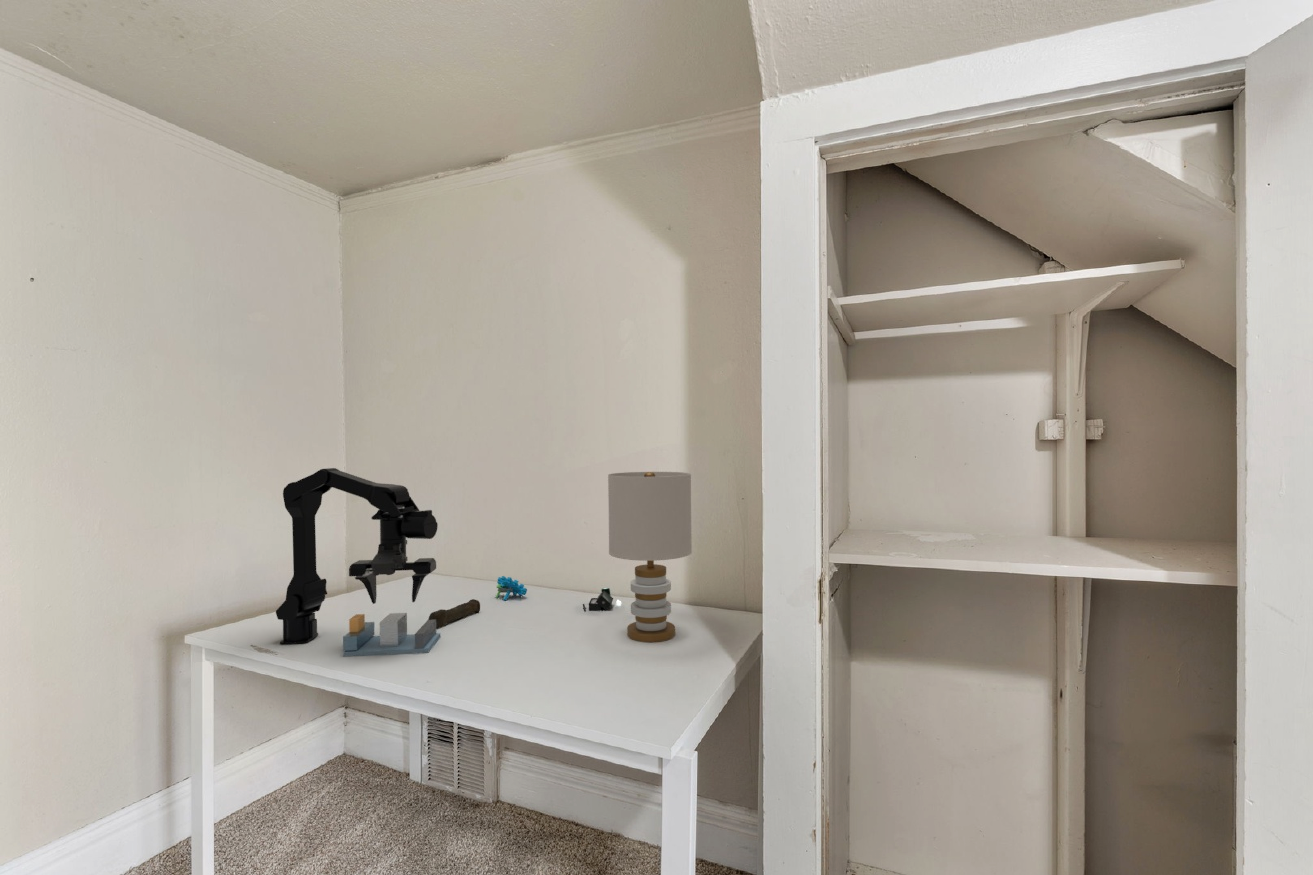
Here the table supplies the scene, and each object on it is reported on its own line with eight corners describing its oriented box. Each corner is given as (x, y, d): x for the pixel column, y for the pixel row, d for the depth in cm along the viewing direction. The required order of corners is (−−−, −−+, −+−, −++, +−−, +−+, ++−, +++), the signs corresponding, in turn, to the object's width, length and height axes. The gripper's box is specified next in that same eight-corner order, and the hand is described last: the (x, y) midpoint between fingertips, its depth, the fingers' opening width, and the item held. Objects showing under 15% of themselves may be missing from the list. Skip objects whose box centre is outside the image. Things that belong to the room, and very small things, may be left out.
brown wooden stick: (470, 611, 175) (470, 595, 175) (481, 613, 173) (480, 597, 173) (419, 631, 158) (419, 613, 158) (431, 633, 156) (431, 615, 156)
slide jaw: (343, 650, 139) (343, 623, 139) (361, 635, 150) (361, 610, 150) (356, 650, 139) (356, 623, 139) (374, 634, 150) (374, 609, 150)
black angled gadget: (623, 617, 169) (623, 597, 169) (569, 617, 169) (569, 597, 169) (627, 602, 184) (626, 584, 184) (578, 602, 184) (577, 584, 184)
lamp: (685, 651, 140) (683, 475, 140) (599, 645, 144) (597, 474, 144) (697, 623, 161) (696, 469, 161) (621, 619, 165) (620, 469, 165)
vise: (343, 656, 139) (343, 636, 139) (362, 640, 150) (361, 622, 150) (428, 652, 141) (428, 633, 141) (440, 637, 152) (440, 619, 152)
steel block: (380, 647, 142) (379, 621, 142) (390, 637, 149) (390, 613, 149) (397, 646, 142) (397, 621, 142) (407, 636, 149) (406, 612, 149)
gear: (534, 592, 189) (514, 573, 184) (525, 608, 185) (505, 590, 180) (510, 592, 195) (490, 574, 190) (501, 608, 191) (481, 590, 186)
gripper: (338, 545, 136) (339, 613, 136) (423, 542, 138) (424, 610, 138) (357, 537, 148) (358, 600, 148) (436, 534, 149) (437, 597, 149)
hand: (394, 602), depth 145 cm, fingers open, 9 cm apart
